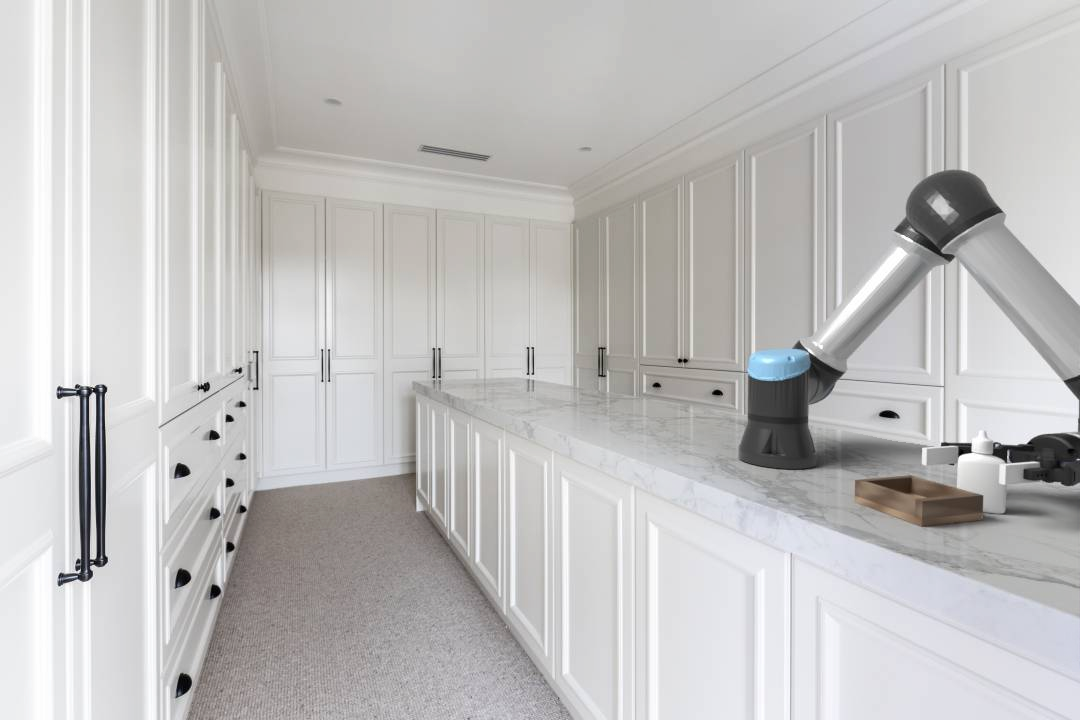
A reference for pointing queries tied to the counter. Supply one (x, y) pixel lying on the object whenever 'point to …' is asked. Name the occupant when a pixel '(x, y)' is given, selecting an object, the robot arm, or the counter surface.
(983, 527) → the counter surface
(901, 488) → the walnut socket block
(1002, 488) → the eye dropper bottle
